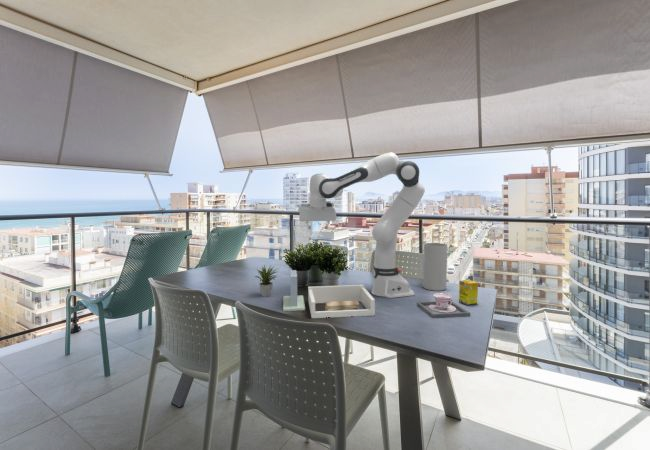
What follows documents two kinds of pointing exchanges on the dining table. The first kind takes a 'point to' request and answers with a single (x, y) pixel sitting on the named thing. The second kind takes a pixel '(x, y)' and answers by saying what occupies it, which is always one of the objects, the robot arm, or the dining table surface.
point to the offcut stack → (342, 305)
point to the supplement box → (468, 292)
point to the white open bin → (340, 294)
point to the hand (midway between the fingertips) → (317, 229)
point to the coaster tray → (441, 315)
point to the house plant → (266, 281)
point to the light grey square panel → (293, 287)
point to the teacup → (442, 303)
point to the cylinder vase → (435, 266)
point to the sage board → (288, 306)
